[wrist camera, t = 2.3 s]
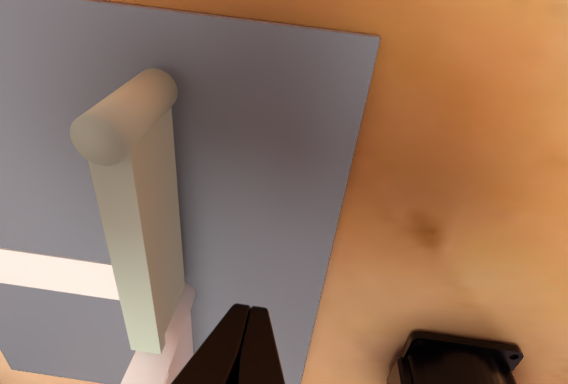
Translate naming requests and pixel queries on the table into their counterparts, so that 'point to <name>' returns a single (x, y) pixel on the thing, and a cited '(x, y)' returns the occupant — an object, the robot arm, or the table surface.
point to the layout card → (190, 177)
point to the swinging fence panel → (138, 199)
